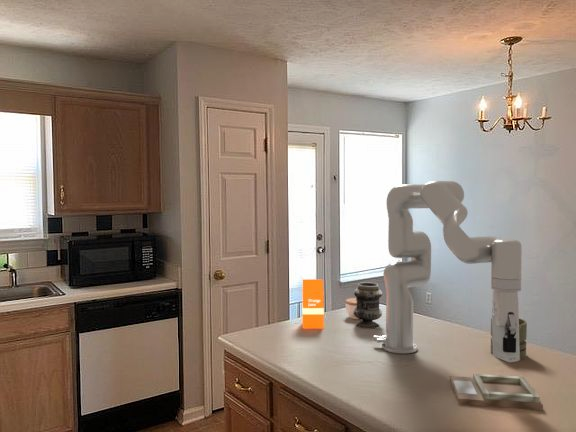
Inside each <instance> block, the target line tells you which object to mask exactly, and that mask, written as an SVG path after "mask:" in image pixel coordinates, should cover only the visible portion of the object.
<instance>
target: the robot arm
mask: <svg viewBox="0 0 576 432" xmlns="http://www.w3.org/2000/svg"><path fill="white" fill-rule="evenodd" d="M464 198H465V191H464V189H463V187H462V186H461V184H460V183H458V182H456V181H453V180H433V181H428V182H427V183H424V184H423V183H420V184H419V183H417V184H416V183H415V184H413V183H408V184H400V185H399V184H398V185H396V186H394V187H392V188H391V189H390V190H389V192H388V193H387V197H386V210H387V217H388V235H387V236H388V237H387V238H388V240H387V243H388V253H389V255H390V256H391V257H392V258H395V259H407V258H408V259H409V258H410V260H405V261H403V260H402V261H394V262H390V263H389V264H388V265H386V266H385V267H384V269H383V282H384V288H385V297H386V299H385V304H386V305H385V306H386V307H385V308H386V313H385V316H386V318H385V319H386V320H385V322H386V324H385V326H386V328H385V333H384V335H383V334H382V336H381V335H373V342H376V343H378V344H379V343H381V348H382V349H383V350H384V351H386V352H388V353H392V354H401V355H402V354H412V353H415V352H417V351H418V345H417V344H416V343H414V298H413V296H412V294H411V292H410V291H409V288H416V287H422V286H425V285H426V284H428V282H429V281H430V279H431V275H432V272H431V271H432V243H431V240H430V237H429V236H428V234H427V233H425V232H424V231H420V230H414V221H413V220H414V219H413V217H412V214H411V213H410V211H409V209H429V210H430V211H431V212H432V213H433V215H434V216H435V217H436V218H437V219H438V221H439V222H440V223H442V226H443V227H442V233H443V239H444V242H445V245H446V246H447V247H448V249H449V250H450V251H451V252H452V254H453V255H454V256H455V257H456V258H457V259H458V260H459V261H460V262H462V263H464V264H466V265H474V264H485V263H491V266H490V267H491V268H490V269H491V277H490V278H491V281H490V282H491V286H490V287H491V290H492V300H491V302H492V303H491V315H492V314H494V316H495V323H496V324H497V325H498V326H499V327H502V326H503V330H504V337H503V352H509V353H515V352H516V327H518V320H519V318H520V317H519V316H520V315H519V313H520V312H519V292H521V291H522V256H523V255H522V250H523V249H522V247H523V246H522V243H521V242H520V240H517V239H512V238H501V237H496V236H473V237H470V236H469V235H467V234H466V232H465V231H464V230H463V228H462V227H461V226H460V225H462V223H463V222H464V221H465V220H466V219H467V217H468V208H467V207H466V206H465V205H464V204H463V203H462V202H463V201H464ZM507 320H508V321H509V325H510V326H506V325H505V324H506V323H507ZM507 329H510V330H508V331H507Z"/></svg>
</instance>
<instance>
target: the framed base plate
mask: <svg viewBox="0 0 576 432" xmlns="http://www.w3.org/2000/svg"><path fill="white" fill-rule="evenodd" d="M449 383H450V386H451V388H452V391H453V394H454V396H455V399H456V402H457V404H458V405H466V406H468V405H469V406H479V407H491V408H493V407H494V408H495V407H496V408H508V409H519V410H520V409H522V410H534V411H543V410H544V404H543V403H542V401H541V398H540V395H539V394H538V393H537V392H536V390H535V389H534V388H533V387H532V385H531V384H530V383H529V382H528V380H527V379H526V377H524V376H519V375H518V376H517V375H516V376H515V375H514V376H513V375H502V374H501V375H500V374H485V373H482V374H481V373H472V376H470V377H468V376H456V375H455V376H454V375H449Z"/></svg>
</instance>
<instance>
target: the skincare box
mask: <svg viewBox="0 0 576 432" xmlns="http://www.w3.org/2000/svg"><path fill="white" fill-rule="evenodd" d="M491 318H492V336H491V337H492V342H493V355H492V357H495V358H498V359H500V360H502V361H504V362H507V363H513V362H514V363H515V362H519V361H521V360H520V347H519V320H518V327H516V352H515V353H509V352H503V337H504V330H503V326H502V327H499V326H498V325H497V324H496V323H495V316H494V314H492V313H491ZM505 325H506V326H510V325H509V321H508V320H507V323H506V324H505ZM508 330H510V329H507V331H508Z"/></svg>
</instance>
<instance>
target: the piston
mask: <svg viewBox="0 0 576 432" xmlns="http://www.w3.org/2000/svg"><path fill="white" fill-rule="evenodd" d="M527 327H528V323H527V321H526V320H525V319H522V318H520V317H519V347H520V360H519V361H521V360H524V359H526V358H527V341H526V340H527V335H528V334H527V333H528V332H527V331H528V330H527V329H528V328H527ZM490 336H491V337H490V354H491V355H492V356H493V342H492V317H491V318H490Z"/></svg>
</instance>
